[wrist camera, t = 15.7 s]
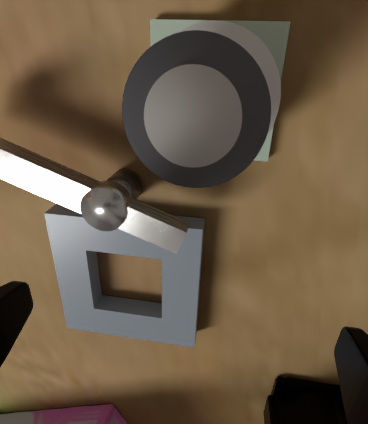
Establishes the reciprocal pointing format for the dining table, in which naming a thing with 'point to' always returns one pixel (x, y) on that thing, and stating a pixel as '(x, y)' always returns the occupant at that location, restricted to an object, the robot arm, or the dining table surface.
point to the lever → (93, 196)
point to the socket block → (122, 307)
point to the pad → (266, 30)
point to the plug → (201, 103)
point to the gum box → (67, 416)
